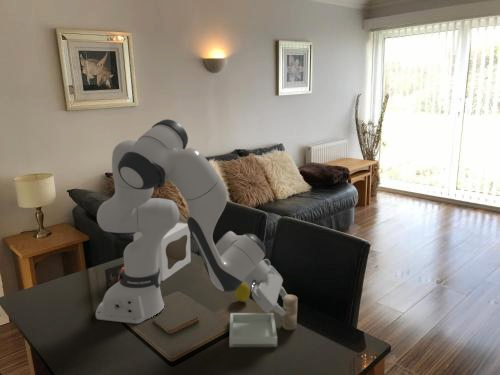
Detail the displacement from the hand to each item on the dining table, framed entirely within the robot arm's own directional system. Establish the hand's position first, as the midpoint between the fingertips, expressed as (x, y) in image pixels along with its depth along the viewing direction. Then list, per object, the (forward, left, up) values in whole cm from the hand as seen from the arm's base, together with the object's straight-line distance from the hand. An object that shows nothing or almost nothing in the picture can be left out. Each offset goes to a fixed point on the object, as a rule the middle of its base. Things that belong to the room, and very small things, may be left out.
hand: (286, 306), depth 129 cm
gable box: (-47, +45, -7) cm, 65 cm away
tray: (-11, -4, -7) cm, 13 cm away
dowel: (+1, 0, -7) cm, 7 cm away
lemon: (-14, +16, -7) cm, 22 cm away
